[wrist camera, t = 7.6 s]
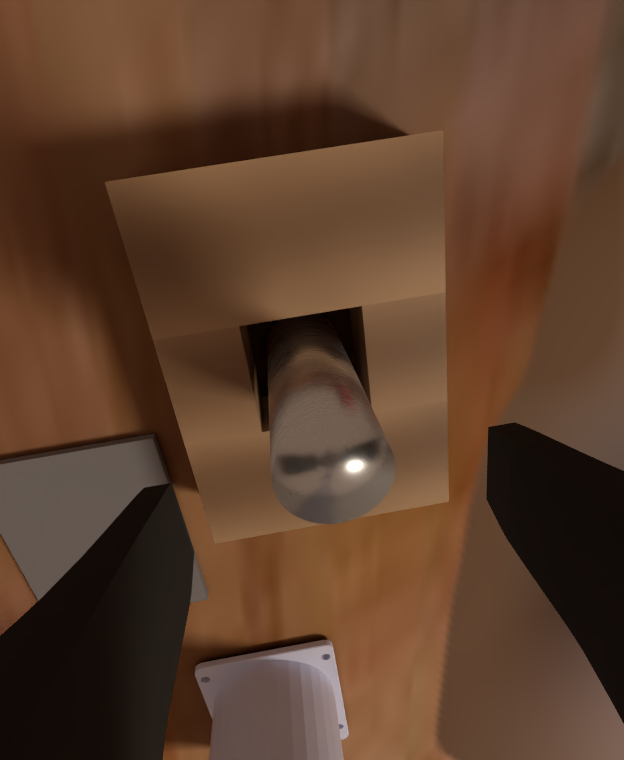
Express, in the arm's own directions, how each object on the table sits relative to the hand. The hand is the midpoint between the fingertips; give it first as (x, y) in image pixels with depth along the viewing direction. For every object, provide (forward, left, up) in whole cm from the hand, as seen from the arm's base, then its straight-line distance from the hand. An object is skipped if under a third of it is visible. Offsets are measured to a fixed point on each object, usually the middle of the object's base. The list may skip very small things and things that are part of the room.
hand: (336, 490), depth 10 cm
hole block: (0, 0, -10) cm, 10 cm away
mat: (-8, +11, -10) cm, 17 cm away
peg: (0, 0, -10) cm, 10 cm away
